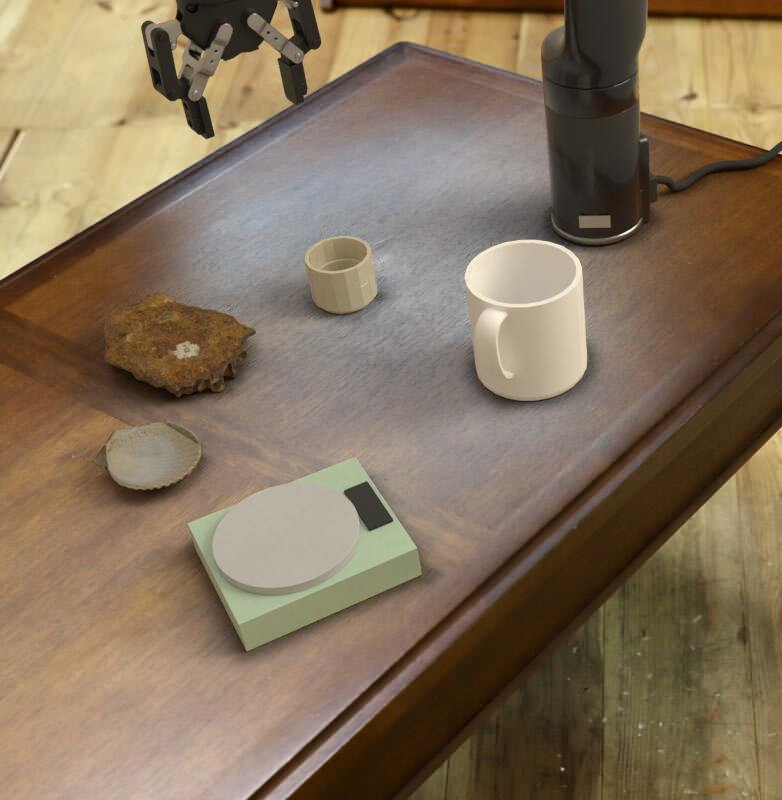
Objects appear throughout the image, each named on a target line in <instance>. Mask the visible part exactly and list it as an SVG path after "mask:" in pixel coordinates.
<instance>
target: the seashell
mask: <svg viewBox="0 0 782 800" xmlns="http://www.w3.org/2000/svg"><path fill="white" fill-rule="evenodd" d="M202 452H203V447H202V442H201V440H200V438H199V437H198V435H197V434H196V433H195V432H194V431H192V430H191V429H189V427H187V426H185V425H182V424H180V423H177V422H164V421H163V422H161V421H158V422H152V423H147V424H143V425H140V426H132V427H127V428H119V429H114V430H113V431H112V432H111V433H110V435H109V437H107V440H106V441H105V444H104V445H103V446H102V448H100V450H99V451H97V453H96V455H95V456H94V457H93V459H92V462H93V463H94V464H95V465H96V466H98V467H104V469H106V471H108V473H109V475H110V477H111V479H112V480H113V481H114V483H116V484H118V485H119V486H120V487H124V488H126V489H129V490H134V491H143V492H145V491H154V490H159V489H163V488H168V487H170V486H171V485H175V484H177V483H178V482H179V481H184V480H185V479H186V477H187V476H190V475H191V474H192V471H194V470H195V469H197V465H198V464H200V462H201V458H202V457H203V453H202Z"/></svg>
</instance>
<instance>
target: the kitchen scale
mask: <svg viewBox="0 0 782 800" xmlns="http://www.w3.org/2000/svg"><path fill="white" fill-rule="evenodd" d="M186 524H187V529H188V531H189V534H190V537H191V540H192V543H193V547H194V549H195V552H196V554H197V556H198V557H199V559H200V562H201V564H202V566H203V567H204V570H205V571H206V573H207V576H208V577H209V579H210V582H211V584H212V585H213V587H214V589H215V591H216V593H217V596H218V597H219V600H220V601H221V603H222V605H223V607H224V609H225V611H226V613H227V615H228V617H229V619H230V621H231V623H232V626H233V627H234V629H235V632H236V633H237V635H238V638H239V639H240V641H241V643H242V646H243V647H244V649H245V651H246V652H249V651H251V650H253V649H257V648H259V647H261V646H263V645H265V644H268V643H269V642H272V641H274V640H277V639H279V638H281V637H283V636H286V635H288V634H290V633H293V632H295V631H297V630H300V629H302V628H304V627H306V626H308V625H311V624H313V623H315V622H317V621H320V620H323V619H325V618H326V617H327V618H328V617H329V616H331V615H334V614H336V613H338V612H340V611H343V610H345V609H347V608H350V607H352V606H354V605H356V604H359V603H361V602H363V601H365V600H367V599H370V598H372V597H375V596H377V595H379V594H381V593H384V592H386V591H389V590H391V589H393V588H395V587H397V586H400V585H402V584H404V583H407V582H408V581H411V580H413V579H416V578H418V577H420V576H422V574H423V573H422V567H421V561H420V556H419V551H418V547H417V545H416V543H415V542H414V541H413V539H412V538H411V536H410V535H409V533H408V532H407V530H406V529H405V528H404V526H403V524H402V523H401V522H400V520H399V519H398V517H397V516H396V514H395V512H394V511H393V510H392V508H391V507H390V505H389V504H388V502H387V501H386V500H385V498H384V497H383V495H382V493H381V491H379V489H378V488H377V486H376V485H375V484H374V482H373V481H372V479H371V478H370V476H369V474H368V472H366V470H365V469H364V467H363V466H362V464H361V463H360V461H359V460H358V458H357V457H356V456H353V457H351V458H349V459H345V460H343V461H340V462H338V463H335V464H333V465H330V466H328V467H325V468H323V469H320V470H319V471H316V472H313V473H310V474H307V475H305V476H303V477H300V478H297V479H295V480H292V481H290V482H288V483H282V484H277V485H274V486H273V485H272V486H270V487H267V488H264V489H261V490H258V491H256V492H254V493H252V494H250V495H248V496H247V497H245V498H244V499H242V500H240V501H239V502H237V503H234V504H232V505H230V506H226V507H225V508H222V509H220V510H217V511H215V512H211V513H210V514H207V515H205V516H202V517H199V518H197V519H193V520H192V521H189V522H187V523H186Z"/></svg>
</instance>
